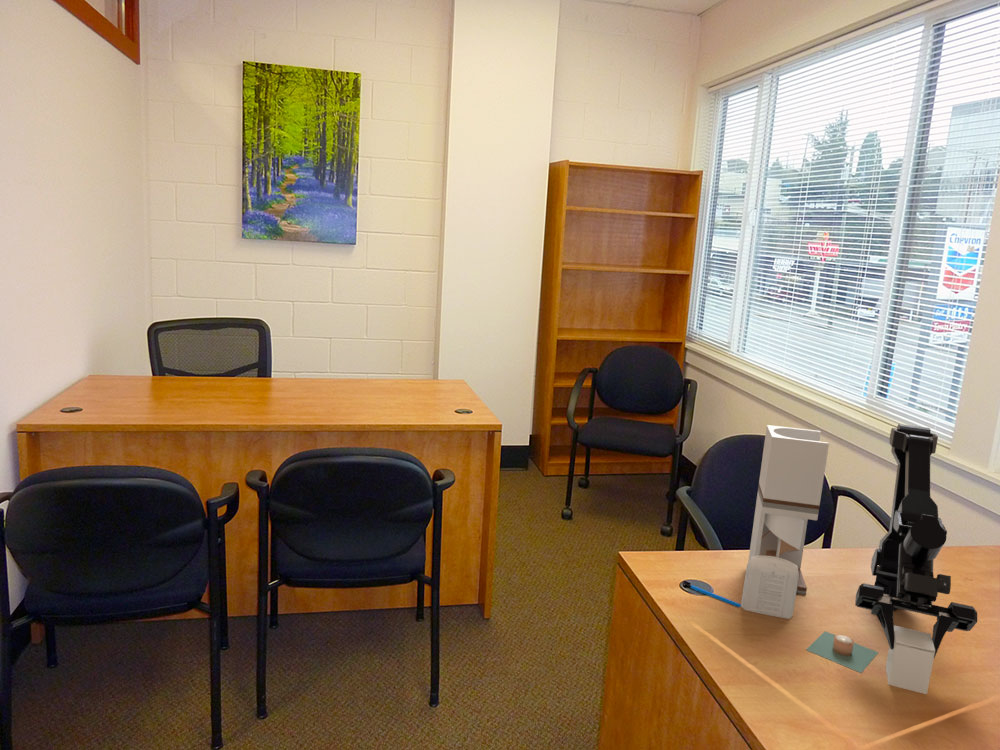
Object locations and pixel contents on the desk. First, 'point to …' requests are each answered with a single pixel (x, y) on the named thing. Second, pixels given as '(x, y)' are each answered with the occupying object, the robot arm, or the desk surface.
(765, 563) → the photo printer
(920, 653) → the white lidded box
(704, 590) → the pen
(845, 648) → the beige short cylinder
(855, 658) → the mat
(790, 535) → the white coffee grinder
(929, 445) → the robot arm
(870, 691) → the desk surface
